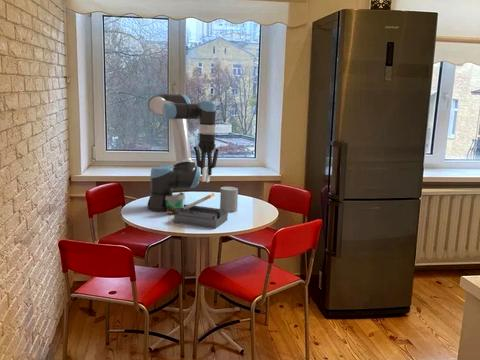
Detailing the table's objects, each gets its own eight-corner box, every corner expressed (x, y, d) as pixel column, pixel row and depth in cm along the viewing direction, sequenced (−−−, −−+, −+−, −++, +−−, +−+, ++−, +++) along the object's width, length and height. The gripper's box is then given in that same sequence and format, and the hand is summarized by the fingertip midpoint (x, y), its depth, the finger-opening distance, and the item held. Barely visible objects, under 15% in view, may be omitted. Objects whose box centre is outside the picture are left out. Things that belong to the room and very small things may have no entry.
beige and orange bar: (181, 211, 236) (180, 209, 236) (185, 209, 241) (184, 206, 241) (211, 197, 230) (209, 194, 230) (214, 195, 234) (213, 192, 234)
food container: (174, 216, 243) (174, 197, 241) (165, 214, 246) (165, 195, 244) (189, 211, 253) (189, 193, 251) (180, 210, 256) (180, 191, 254)
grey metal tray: (173, 222, 233) (174, 208, 231) (187, 214, 247) (188, 201, 246) (215, 228, 226) (216, 214, 224) (227, 220, 241) (227, 206, 239)
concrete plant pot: (235, 213, 254) (236, 190, 251) (217, 211, 256) (218, 189, 253) (238, 209, 263) (239, 187, 260) (222, 207, 265) (222, 185, 262)
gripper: (190, 132, 226) (189, 181, 231) (218, 135, 222) (216, 184, 226) (196, 131, 233) (195, 178, 238) (224, 133, 229) (222, 181, 233)
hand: (205, 181), depth 232 cm, fingers closed
